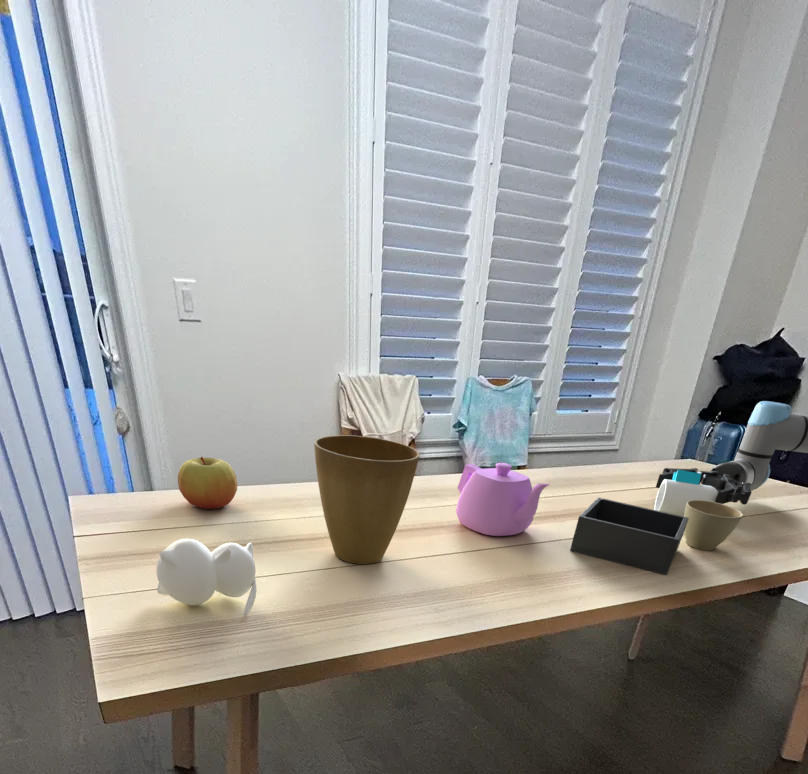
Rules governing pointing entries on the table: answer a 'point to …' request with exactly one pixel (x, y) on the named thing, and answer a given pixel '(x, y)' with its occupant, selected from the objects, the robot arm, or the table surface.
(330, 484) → the plant pot
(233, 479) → the apple
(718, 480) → the robot arm
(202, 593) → the cat figurine
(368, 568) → the table surface
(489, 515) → the teapot
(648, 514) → the open storage box
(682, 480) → the mug
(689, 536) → the flower pot
